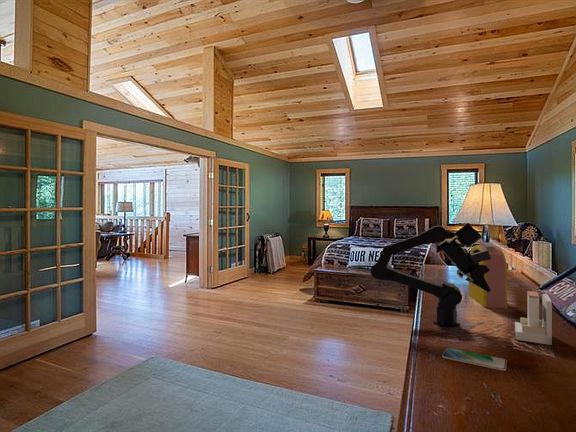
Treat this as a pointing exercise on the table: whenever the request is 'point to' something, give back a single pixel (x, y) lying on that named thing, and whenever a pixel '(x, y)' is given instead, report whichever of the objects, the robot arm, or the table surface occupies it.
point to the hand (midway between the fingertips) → (489, 291)
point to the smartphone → (475, 359)
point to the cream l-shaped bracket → (537, 333)
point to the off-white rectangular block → (532, 308)
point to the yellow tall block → (492, 279)
